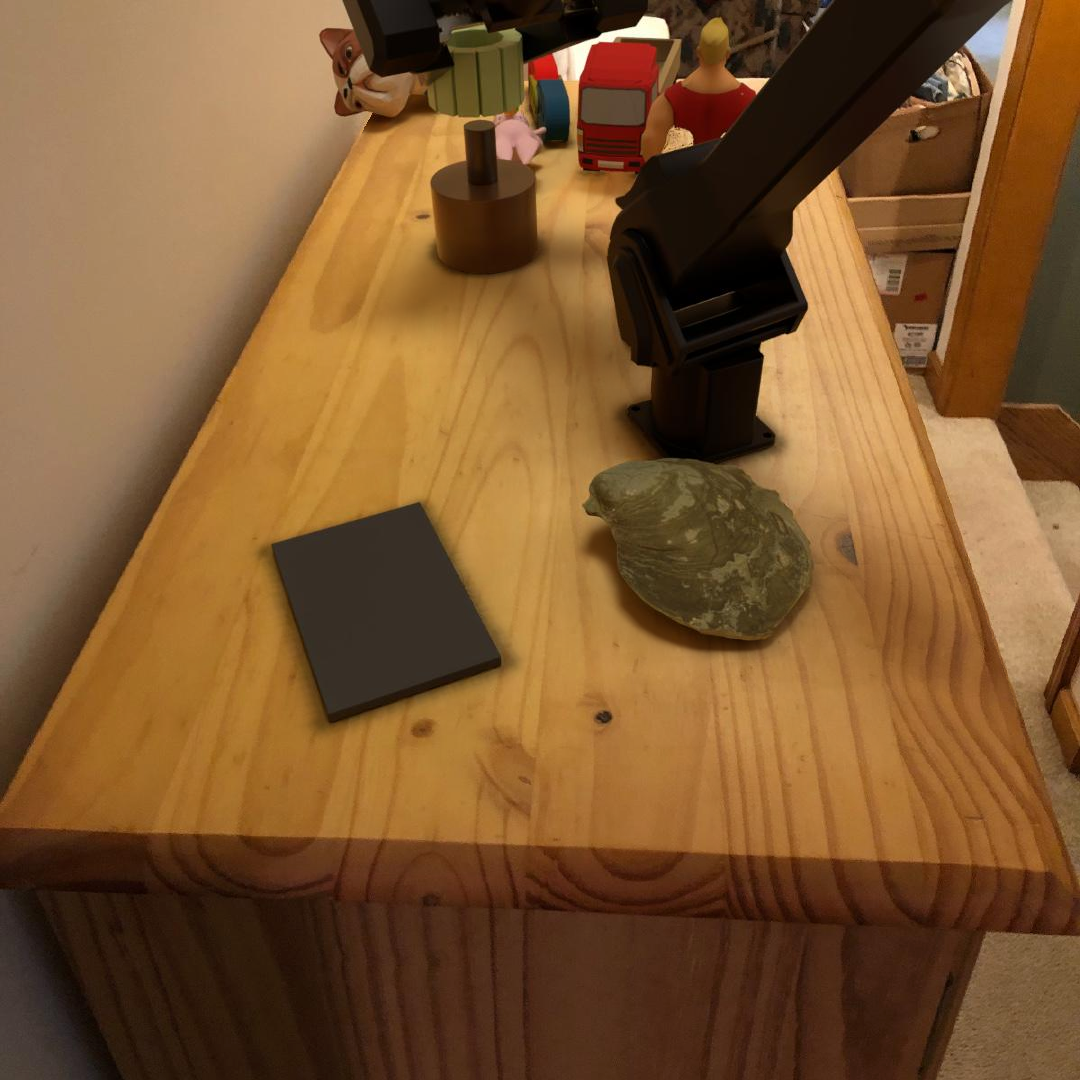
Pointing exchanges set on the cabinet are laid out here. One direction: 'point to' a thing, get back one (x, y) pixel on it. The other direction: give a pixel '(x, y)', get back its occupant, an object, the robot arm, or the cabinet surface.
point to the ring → (480, 74)
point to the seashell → (704, 544)
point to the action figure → (699, 97)
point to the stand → (484, 207)
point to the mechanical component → (549, 98)
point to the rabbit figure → (516, 137)
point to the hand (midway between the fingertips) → (466, 70)
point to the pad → (381, 610)
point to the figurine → (364, 79)
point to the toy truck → (621, 99)
